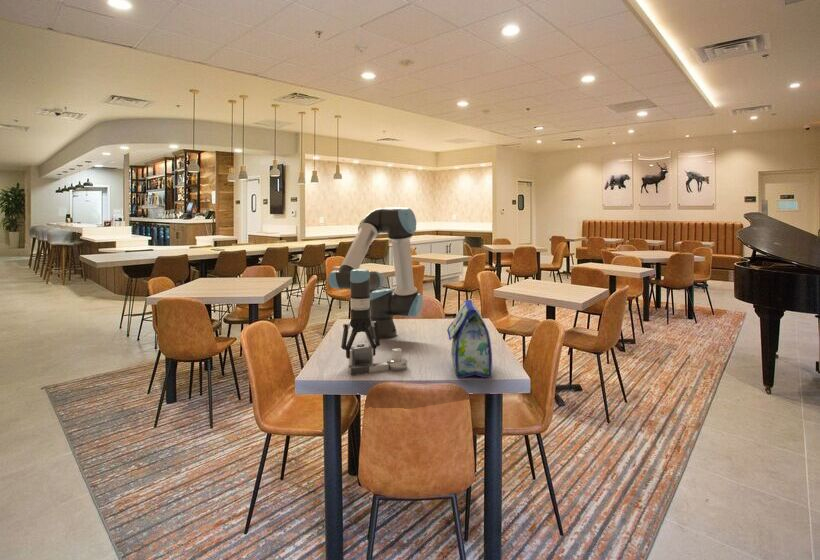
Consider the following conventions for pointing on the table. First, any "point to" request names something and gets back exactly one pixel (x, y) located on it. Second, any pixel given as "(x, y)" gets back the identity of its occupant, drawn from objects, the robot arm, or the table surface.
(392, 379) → the table surface
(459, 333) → the lunch bag
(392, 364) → the chrome ball-end bar
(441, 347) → the table surface
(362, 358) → the grey square block
